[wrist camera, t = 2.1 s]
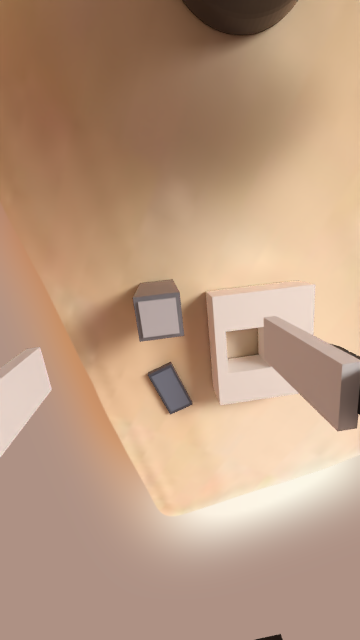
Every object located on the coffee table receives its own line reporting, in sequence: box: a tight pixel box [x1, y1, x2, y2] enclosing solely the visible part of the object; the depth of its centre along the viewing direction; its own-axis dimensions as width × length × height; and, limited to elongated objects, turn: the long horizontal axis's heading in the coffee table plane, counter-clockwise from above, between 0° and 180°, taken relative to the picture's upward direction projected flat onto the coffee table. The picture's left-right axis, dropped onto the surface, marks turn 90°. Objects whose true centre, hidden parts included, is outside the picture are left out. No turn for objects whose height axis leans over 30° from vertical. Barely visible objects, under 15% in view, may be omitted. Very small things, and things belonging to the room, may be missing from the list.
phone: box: [148, 362, 192, 414], centre depth 35 cm, size 7×4×1 cm, turn 26°
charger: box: [133, 279, 184, 342], centre depth 27 cm, size 4×4×10 cm
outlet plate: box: [206, 280, 315, 405], centre depth 32 cm, size 14×12×4 cm
